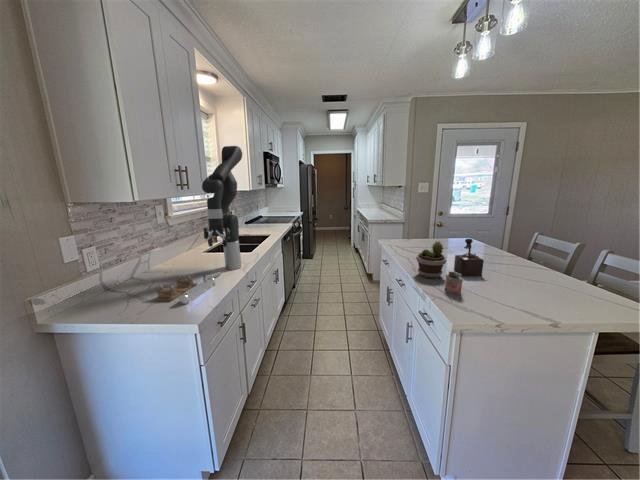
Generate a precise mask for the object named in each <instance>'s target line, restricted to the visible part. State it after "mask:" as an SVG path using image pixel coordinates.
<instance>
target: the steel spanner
mask: <svg viewBox="0 0 640 480" xmlns="http://www.w3.org/2000/svg"><path fill="white" fill-rule="evenodd" d="M215 285H216V282H215V277H210V278H208V279H206V280H204V281H203V280H202V282H200V283H197V285H196V286H195V287H193V288H191V289H190V290H188V291H186V292H185V293H183V294H182V295H180V296H179V300H180V305H181V306H186V305H189V304H190V303H192V302H193V301H195V300H196V299H198V298H199V297H200V296H202V295H203V294H205V293H206V292H208V291H209V290H211V289H212V288H213V287H215Z"/></svg>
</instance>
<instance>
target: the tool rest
mask: <svg viewBox="0 0 640 480" xmlns="http://www.w3.org/2000/svg"><path fill="white" fill-rule="evenodd" d="M196 285H198V283H197V282H196V283H195V282H194V280H193V278H191V276H190V275H188V276H187V278H181V275H178V276H177V280H176V286H175V287H174V286H173V285H170V286H169V288H167V287H166V288H165V287H164V286H163V285H162V284H160V285H159V286H158V288H159V289H158V290H157V295H158V296H157V297H155V298H153V300H154V302H166V303H170V302H172V301H174V300H176V299H177V298H178V297H179V298H180V295H182V294H183V293H185V292H186V291H188V290H190V289H191V288H193V287H195V286H196Z"/></svg>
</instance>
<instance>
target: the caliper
mask: <svg viewBox="0 0 640 480" xmlns="http://www.w3.org/2000/svg"><path fill="white" fill-rule="evenodd" d="M220 275H222V271H218V272H216V273H213V274H203V277H202V282H203V281H204V280H206V279H208V278H210V277H214V278H215V277H218V276H220Z"/></svg>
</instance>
